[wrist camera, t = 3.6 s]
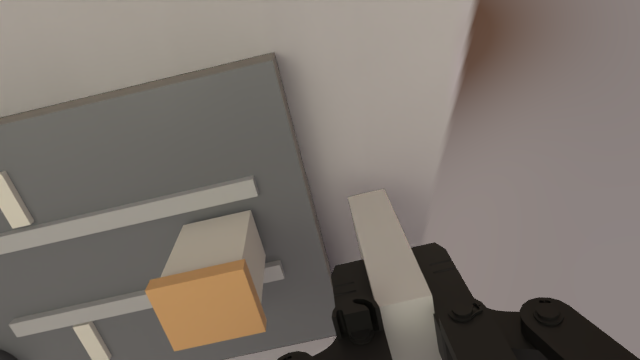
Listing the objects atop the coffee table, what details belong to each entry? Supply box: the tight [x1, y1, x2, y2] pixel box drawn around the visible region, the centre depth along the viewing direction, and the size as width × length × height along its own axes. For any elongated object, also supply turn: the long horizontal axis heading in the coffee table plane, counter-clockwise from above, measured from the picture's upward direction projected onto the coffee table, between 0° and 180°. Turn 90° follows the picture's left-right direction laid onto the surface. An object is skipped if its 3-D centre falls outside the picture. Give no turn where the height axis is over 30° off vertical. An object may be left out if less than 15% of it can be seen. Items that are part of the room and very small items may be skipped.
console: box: [0, 52, 336, 360], centre depth 20 cm, size 20×14×3 cm
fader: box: [145, 210, 267, 351], centre depth 17 cm, size 3×3×5 cm
